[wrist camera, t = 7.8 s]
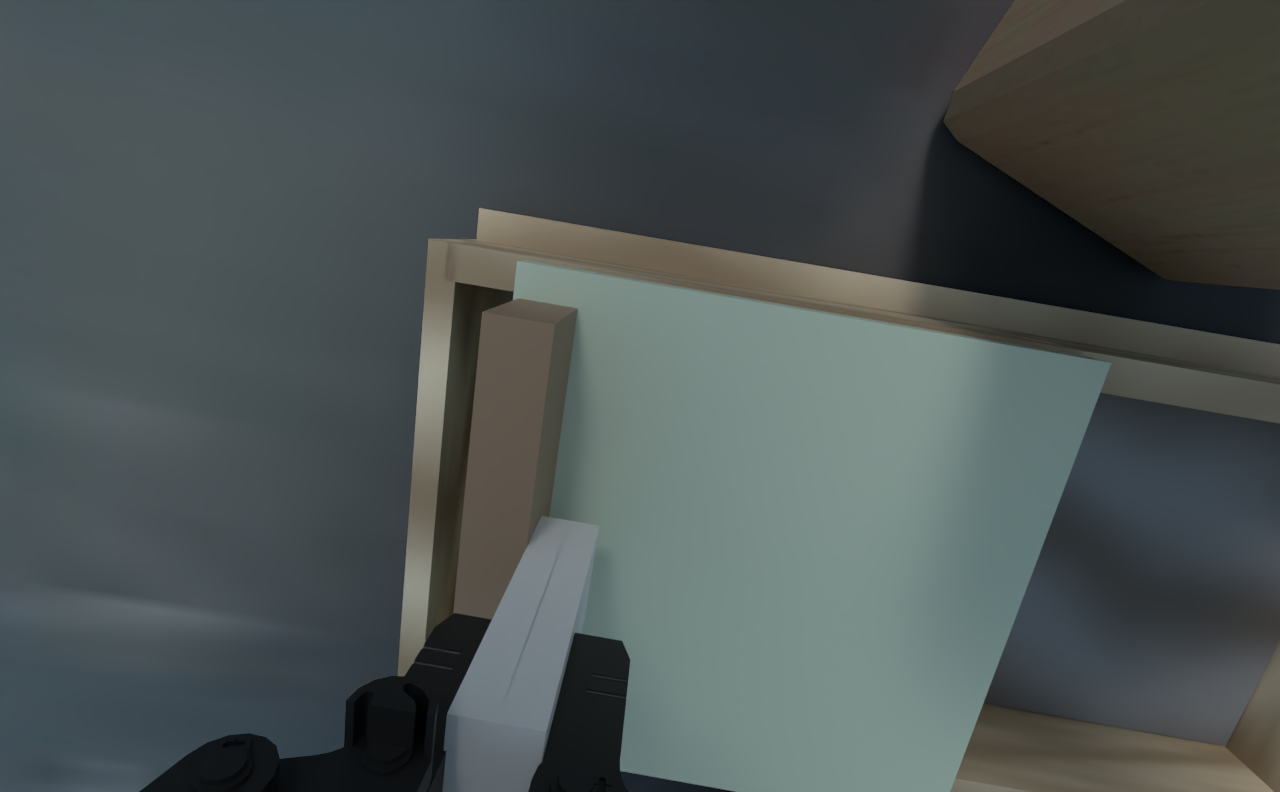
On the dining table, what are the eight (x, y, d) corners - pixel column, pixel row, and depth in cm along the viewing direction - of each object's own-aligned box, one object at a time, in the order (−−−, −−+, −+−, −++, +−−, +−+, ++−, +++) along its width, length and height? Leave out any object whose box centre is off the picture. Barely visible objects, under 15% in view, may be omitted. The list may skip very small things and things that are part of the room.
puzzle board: (488, 209, 20) (431, 199, 16) (1423, 368, 20) (1661, 409, 15) (448, 633, 25) (393, 728, 20) (1217, 770, 24) (1351, 900, 20)
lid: (525, 259, 16) (478, 265, 12) (1089, 356, 15) (1220, 392, 12) (472, 723, 19) (426, 835, 16) (926, 804, 19) (986, 937, 16)
